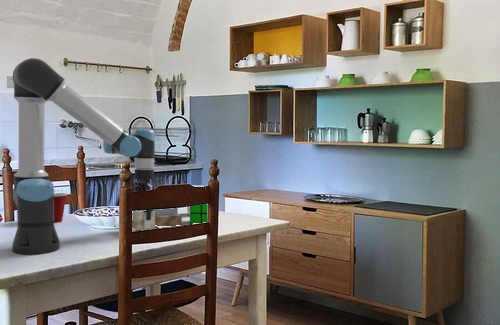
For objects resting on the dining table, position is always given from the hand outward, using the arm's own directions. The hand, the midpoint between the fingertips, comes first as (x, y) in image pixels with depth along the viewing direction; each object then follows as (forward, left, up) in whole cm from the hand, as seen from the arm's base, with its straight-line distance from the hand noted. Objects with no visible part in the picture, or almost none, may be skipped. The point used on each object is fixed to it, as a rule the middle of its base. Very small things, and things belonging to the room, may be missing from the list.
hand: (143, 226), depth 220 cm
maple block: (0, 0, 0) cm, 0 cm away
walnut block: (+13, +7, -2) cm, 15 cm away
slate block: (+13, +7, +3) cm, 15 cm away
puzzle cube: (+29, +4, -2) cm, 30 cm away
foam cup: (+35, +23, -2) cm, 42 cm away
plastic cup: (-25, +37, -2) cm, 44 cm away
